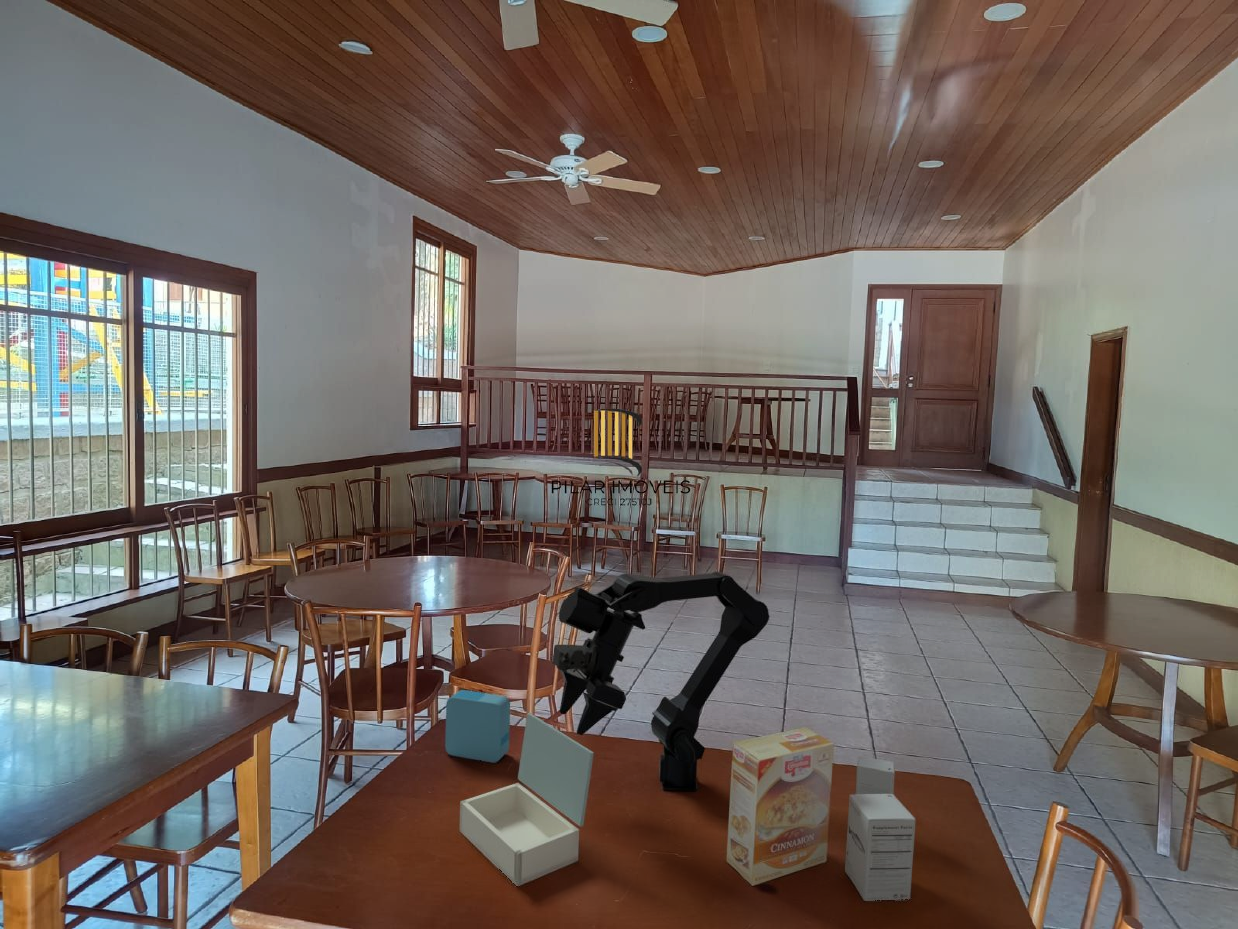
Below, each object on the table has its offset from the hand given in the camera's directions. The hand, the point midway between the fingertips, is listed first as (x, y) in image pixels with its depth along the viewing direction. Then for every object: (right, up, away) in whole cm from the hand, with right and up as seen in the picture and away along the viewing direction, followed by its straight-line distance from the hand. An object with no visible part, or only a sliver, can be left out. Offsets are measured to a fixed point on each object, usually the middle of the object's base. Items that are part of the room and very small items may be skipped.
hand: (570, 723), depth 133 cm
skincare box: (+52, -17, -5) cm, 55 cm away
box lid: (-2, -4, -9) cm, 11 cm away
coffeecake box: (+33, -17, -14) cm, 40 cm away
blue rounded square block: (-20, -13, +18) cm, 30 cm away
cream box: (-8, -15, -13) cm, 21 cm away
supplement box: (+47, -18, -20) cm, 54 cm away
